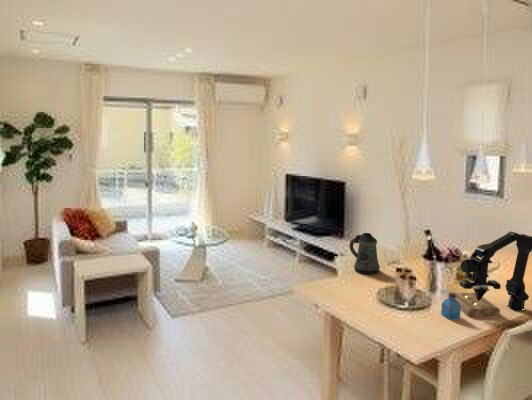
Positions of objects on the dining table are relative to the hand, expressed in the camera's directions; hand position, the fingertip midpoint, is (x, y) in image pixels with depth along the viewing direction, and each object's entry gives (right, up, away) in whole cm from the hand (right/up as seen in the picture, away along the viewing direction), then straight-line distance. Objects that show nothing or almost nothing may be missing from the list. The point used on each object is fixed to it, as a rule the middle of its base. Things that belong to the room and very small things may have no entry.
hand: (478, 300), depth 223 cm
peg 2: (0, -6, +1) cm, 6 cm away
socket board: (0, -5, +6) cm, 8 cm away
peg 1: (0, -4, +11) cm, 12 cm away
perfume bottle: (-17, -7, -6) cm, 19 cm away
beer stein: (-44, +5, +64) cm, 78 cm away
